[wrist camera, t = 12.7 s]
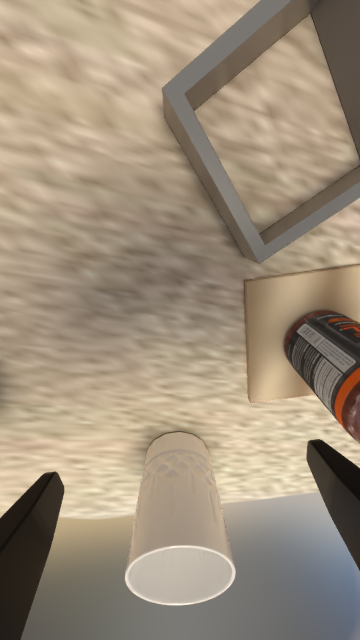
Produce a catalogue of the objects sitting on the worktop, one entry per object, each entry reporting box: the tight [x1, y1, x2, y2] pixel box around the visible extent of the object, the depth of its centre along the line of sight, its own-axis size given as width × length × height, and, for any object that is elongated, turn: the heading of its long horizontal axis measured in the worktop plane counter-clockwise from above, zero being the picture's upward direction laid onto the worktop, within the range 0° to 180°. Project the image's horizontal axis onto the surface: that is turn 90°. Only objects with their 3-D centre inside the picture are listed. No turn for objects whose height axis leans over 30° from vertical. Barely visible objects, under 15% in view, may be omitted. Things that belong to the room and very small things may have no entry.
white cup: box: [125, 432, 235, 605], centre depth 22 cm, size 8×8×10 cm
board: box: [244, 264, 360, 403], centre depth 21 cm, size 12×12×1 cm
